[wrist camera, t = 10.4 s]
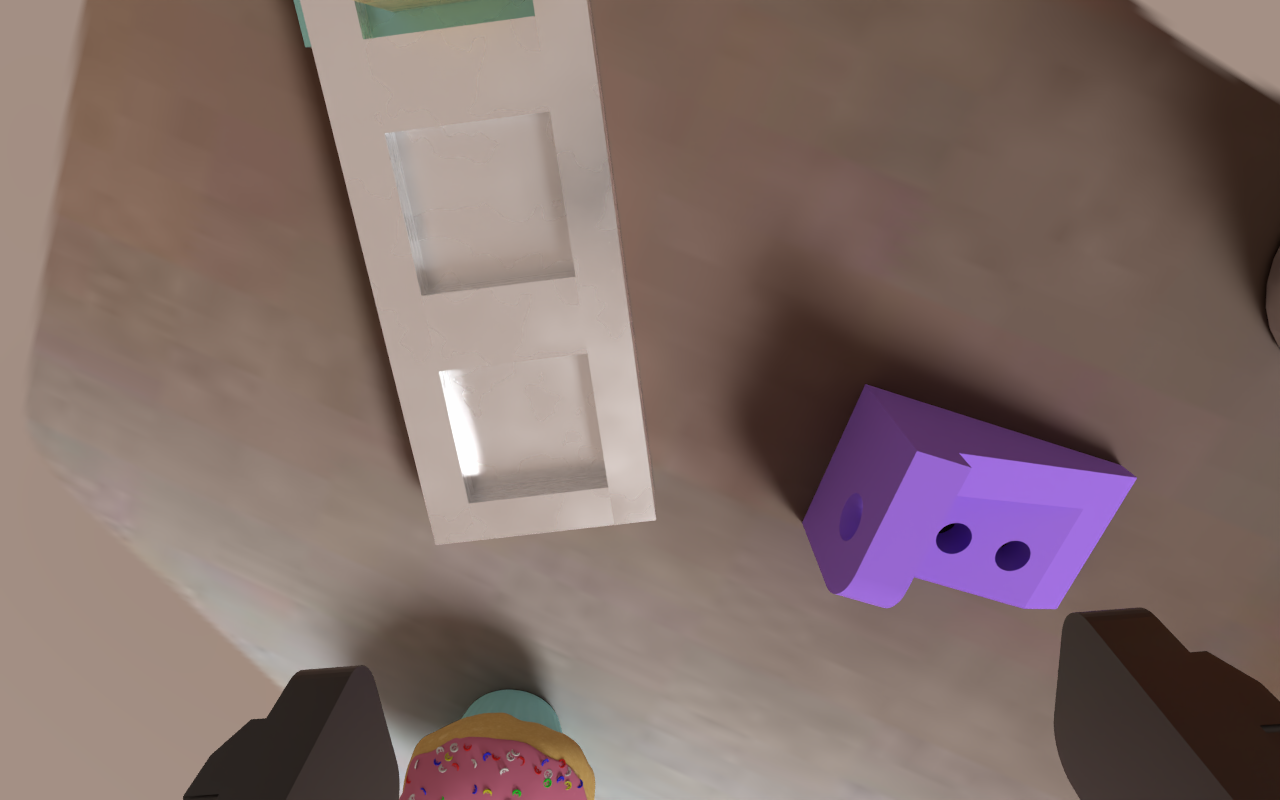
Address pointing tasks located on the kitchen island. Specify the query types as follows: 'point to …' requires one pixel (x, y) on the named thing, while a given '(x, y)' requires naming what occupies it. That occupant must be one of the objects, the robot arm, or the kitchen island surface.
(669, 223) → the kitchen island surface
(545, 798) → the cupcake
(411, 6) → the brass block
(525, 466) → the white compartment tray
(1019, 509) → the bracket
